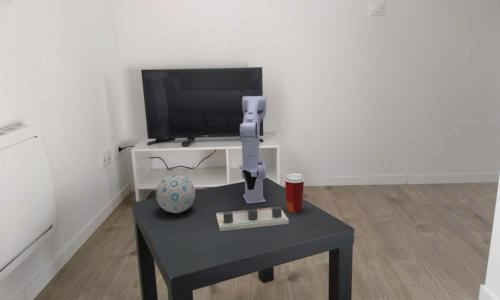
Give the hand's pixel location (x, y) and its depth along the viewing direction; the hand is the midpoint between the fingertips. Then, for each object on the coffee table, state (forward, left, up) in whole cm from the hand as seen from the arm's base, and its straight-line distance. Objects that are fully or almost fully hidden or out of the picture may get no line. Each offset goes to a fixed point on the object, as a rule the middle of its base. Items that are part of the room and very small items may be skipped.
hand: (250, 189), depth 141 cm
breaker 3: (+7, +8, -9) cm, 14 cm away
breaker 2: (+7, -1, -9) cm, 11 cm away
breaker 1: (+7, -10, -9) cm, 15 cm away
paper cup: (0, +17, -11) cm, 20 cm away
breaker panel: (+5, -1, -10) cm, 11 cm away
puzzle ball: (-10, -28, -11) cm, 32 cm away
